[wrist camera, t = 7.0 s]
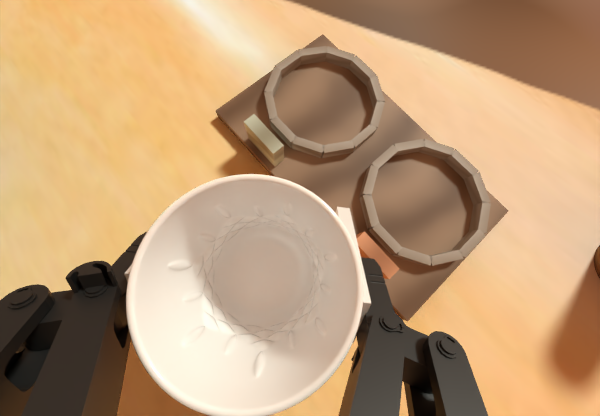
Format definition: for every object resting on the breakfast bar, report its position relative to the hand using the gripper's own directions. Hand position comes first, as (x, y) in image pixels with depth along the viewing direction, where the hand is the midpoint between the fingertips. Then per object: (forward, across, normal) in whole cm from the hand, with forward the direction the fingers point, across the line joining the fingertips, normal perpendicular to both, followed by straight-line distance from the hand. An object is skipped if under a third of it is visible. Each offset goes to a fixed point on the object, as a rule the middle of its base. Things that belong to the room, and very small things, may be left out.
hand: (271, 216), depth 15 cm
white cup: (0, 0, -5) cm, 5 cm away
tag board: (+12, +7, 0) cm, 14 cm away
